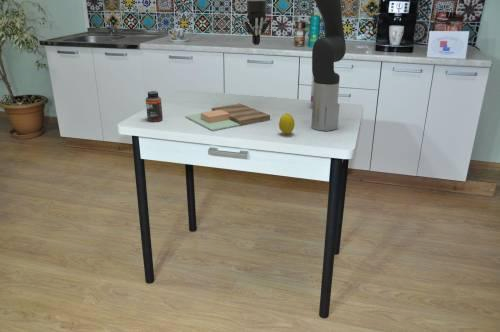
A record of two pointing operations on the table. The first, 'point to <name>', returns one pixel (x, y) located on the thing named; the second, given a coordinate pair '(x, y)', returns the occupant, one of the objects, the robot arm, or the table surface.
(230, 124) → the mat
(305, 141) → the table surface
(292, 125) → the lemon
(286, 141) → the table surface
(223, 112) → the tile
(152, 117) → the supplement bottle
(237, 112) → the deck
